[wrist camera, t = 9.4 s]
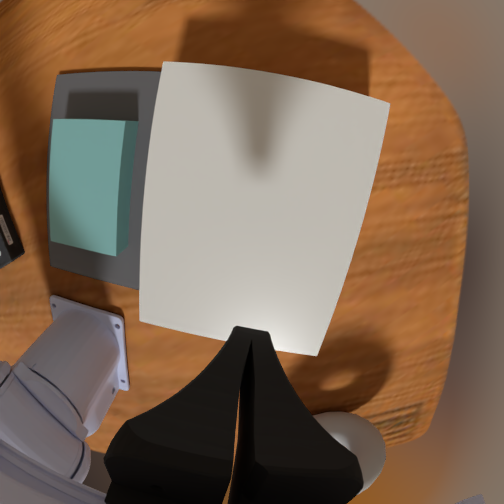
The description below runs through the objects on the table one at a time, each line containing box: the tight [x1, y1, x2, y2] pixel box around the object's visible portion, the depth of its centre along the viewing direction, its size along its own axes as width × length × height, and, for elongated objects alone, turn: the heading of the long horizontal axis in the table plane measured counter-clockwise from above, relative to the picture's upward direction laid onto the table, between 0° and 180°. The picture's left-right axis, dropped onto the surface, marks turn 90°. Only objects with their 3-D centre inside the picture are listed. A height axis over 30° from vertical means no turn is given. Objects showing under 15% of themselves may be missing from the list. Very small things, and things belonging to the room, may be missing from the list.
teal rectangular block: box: [49, 119, 139, 256], centre depth 19 cm, size 9×6×2 cm, turn 170°
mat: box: [47, 71, 161, 290], centre depth 20 cm, size 16×10×1 cm, turn 170°
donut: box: [313, 412, 386, 494], centre depth 23 cm, size 10×4×10 cm, turn 99°
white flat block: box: [139, 62, 390, 356], centre depth 18 cm, size 16×12×4 cm
